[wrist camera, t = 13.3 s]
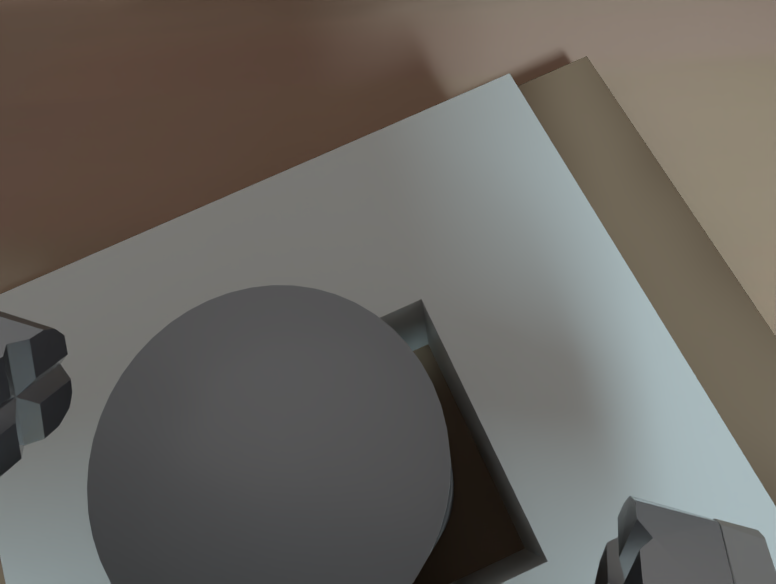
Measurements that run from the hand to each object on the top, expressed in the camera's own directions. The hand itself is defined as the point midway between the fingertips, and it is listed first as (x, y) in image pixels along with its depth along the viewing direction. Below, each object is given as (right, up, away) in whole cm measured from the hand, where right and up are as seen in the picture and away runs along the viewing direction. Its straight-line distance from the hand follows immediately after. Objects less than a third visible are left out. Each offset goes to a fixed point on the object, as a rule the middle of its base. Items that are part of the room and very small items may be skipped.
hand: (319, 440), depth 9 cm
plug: (+1, -3, +7) cm, 8 cm away
